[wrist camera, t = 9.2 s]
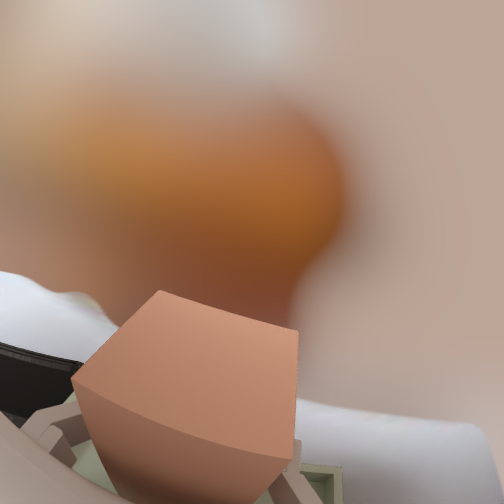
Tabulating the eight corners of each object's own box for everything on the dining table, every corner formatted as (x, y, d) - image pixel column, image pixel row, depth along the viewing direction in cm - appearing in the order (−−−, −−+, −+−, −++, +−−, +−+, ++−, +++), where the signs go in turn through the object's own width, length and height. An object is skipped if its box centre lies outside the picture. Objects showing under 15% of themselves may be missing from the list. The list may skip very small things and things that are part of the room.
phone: (78, 446, 11) (-75, 382, 6) (81, 453, 11) (-69, 392, 6) (91, 362, 18) (-41, 326, 13) (93, 372, 18) (-37, 336, 13)
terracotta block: (121, 500, 8) (70, 378, 5) (155, 435, 13) (159, 289, 9) (220, 534, 8) (292, 459, 4) (238, 462, 12) (298, 331, 9)
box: (34, 465, 8) (22, 452, 8) (83, 402, 15) (79, 385, 14) (326, 561, 7) (342, 556, 6) (328, 478, 14) (341, 467, 13)
